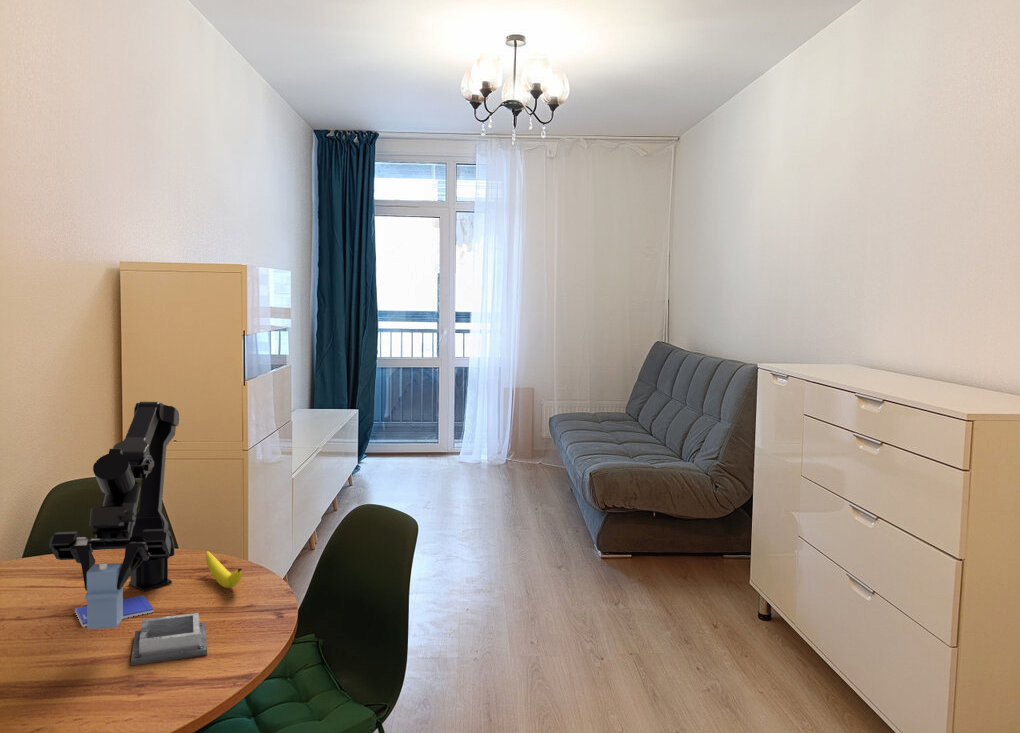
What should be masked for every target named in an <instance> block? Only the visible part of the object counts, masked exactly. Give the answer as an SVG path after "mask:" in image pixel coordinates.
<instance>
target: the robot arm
mask: <svg viewBox="0 0 1020 733" xmlns="http://www.w3.org/2000/svg"><path fill="white" fill-rule="evenodd" d="M179 412H180V411H179V410H178V409H177V408H176V407H174V405H167V404H164V403H163V402H159V401H139V402H136V404H135V406H134V410H133V418H132V419H131V422H130V425H129V427H128V429H127V433H126V435H125V437H124V439H123V440H121V441H120V442H118V443H116V444H114V445H113V447H112V448H109V450H108V453H107V454H104V455H102V456H100V457H99V458H98V459H97V460H96V461H95V462H94V463H93V466H92V471H93V474H94V476H95V479H96V481H97V483H98V486H99V488H100V491H101V492H102V493H104V494H105V495H104V498H103V502H102V505H101V506H100V507H99V506H98V507H97V506H95V507H91V508H90V515H89V516H90V517H89V522H88V523H89V524H88V527H90V528H91V533H92V534H93V535H95V537H94V538H93V537H92V538H91V537H86V536H80V534H79V532H78V531H56V532H54V534H53V535H51V537H50V539H49V543H48V547H49V549H50V550H51V552H52V554H53V556H54V557H55V559H56V560H59V561H70V560H71V561H72V560H75V562H76V563H77V564H80V566H81V571H82V577H83V578H82V579H83V584H84V589H85V591H86V592H87V571H88V570H89V569H90V568H91V567H92V566H93V565H94V564H96V558H95V557H94V555H93V553H94V551H95V550H117V549H118V550H120V549H121V550H123V549H124V557H123V561H122V567H121V571H120V574H119V577H118V583H117V589H118V590H120V589H121V588H122V587H123V588H124V586H125V584H126V583H127V581H128V585H130V586H133V587H134V588H135V589H138V590H140V591H144V592H145V591H148V590H151V589H155V588H159V587H162V586H163V587H164V586H166V585H169V584H172V582H173V581H172V580H173V579H172V580H171V579H170V578H169V572H168V571H169V567H168V566H169V564H168V562H169V559H170V557H174V556H175V555H176V554H175V543H174V539H173V535H172V532H171V531H170V530H169V522H168V521H167V519H166V517H165V515H164V514H163V512H162V511H163V510H162V509H163V496H164V483H165V482H164V481H165V470H166V469H165V467H166V457H167V456H166V454H167V446H168V445H169V443H170V442H171V441H172V439H173V438H174V437H175V436H176V430H177V427H179V423H180V413H179ZM136 480H140V481H141V482H140V484H139V483H138V482H137V481H136ZM138 506H139V507H138ZM137 508H138V511H137ZM129 579H130V580H129ZM123 585H124V586H123Z"/></svg>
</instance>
